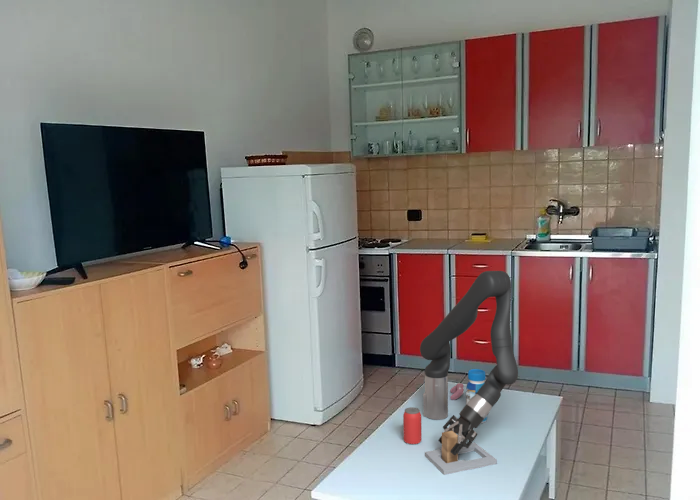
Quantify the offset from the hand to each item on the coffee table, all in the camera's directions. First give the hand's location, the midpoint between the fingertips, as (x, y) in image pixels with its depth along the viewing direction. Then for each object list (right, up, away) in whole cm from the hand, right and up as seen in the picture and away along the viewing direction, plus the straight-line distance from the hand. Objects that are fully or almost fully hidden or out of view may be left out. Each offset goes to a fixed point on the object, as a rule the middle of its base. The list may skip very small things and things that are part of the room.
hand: (446, 448), depth 196 cm
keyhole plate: (+5, -5, +2) cm, 7 cm away
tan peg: (+1, -5, +1) cm, 5 cm away
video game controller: (+15, +2, +60) cm, 62 cm away
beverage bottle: (+18, -1, +35) cm, 39 cm away
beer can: (-10, -4, +17) cm, 20 cm away
